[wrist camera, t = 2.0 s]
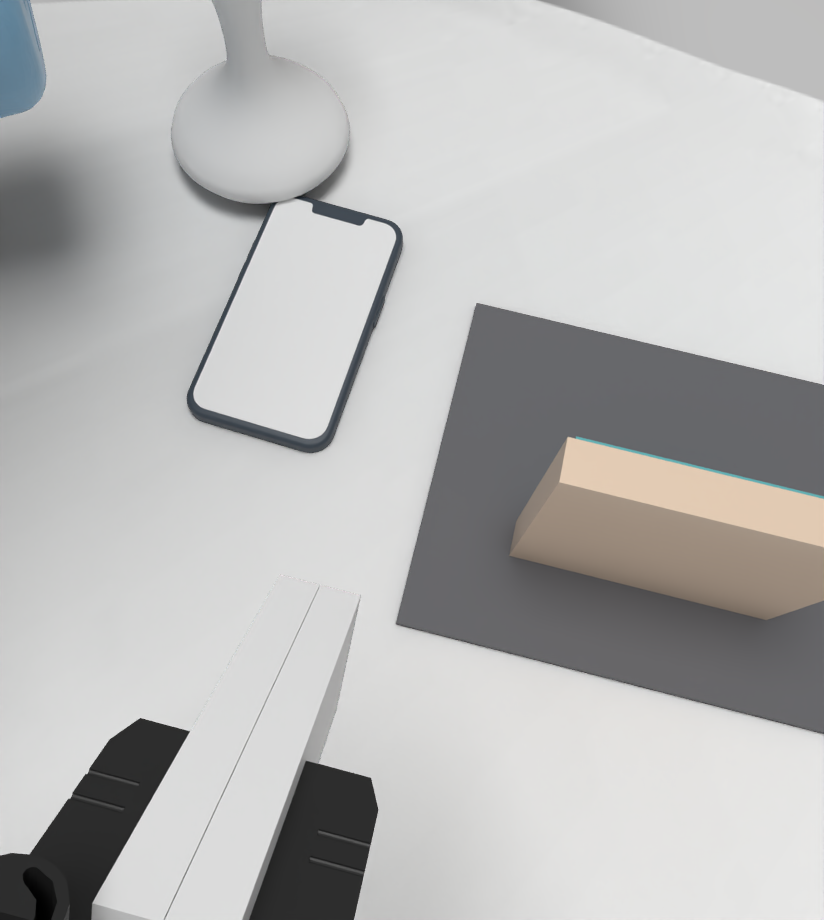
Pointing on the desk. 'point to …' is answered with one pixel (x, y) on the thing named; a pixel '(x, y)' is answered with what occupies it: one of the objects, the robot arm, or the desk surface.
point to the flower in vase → (258, 119)
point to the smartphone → (297, 324)
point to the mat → (632, 427)
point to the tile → (675, 530)
